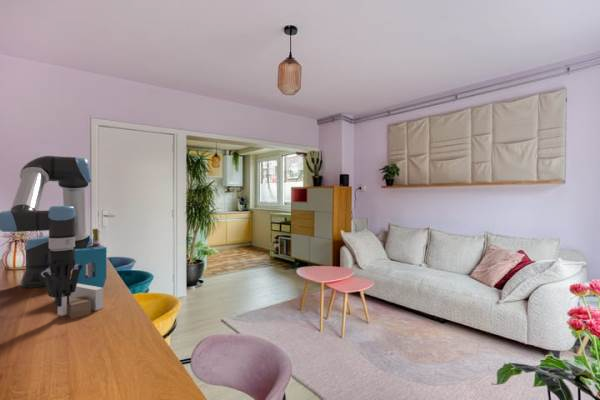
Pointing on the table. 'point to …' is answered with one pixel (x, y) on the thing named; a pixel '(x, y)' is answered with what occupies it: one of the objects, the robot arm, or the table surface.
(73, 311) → the walnut block
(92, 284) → the block
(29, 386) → the table surface
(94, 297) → the grey board
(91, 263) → the liquor
